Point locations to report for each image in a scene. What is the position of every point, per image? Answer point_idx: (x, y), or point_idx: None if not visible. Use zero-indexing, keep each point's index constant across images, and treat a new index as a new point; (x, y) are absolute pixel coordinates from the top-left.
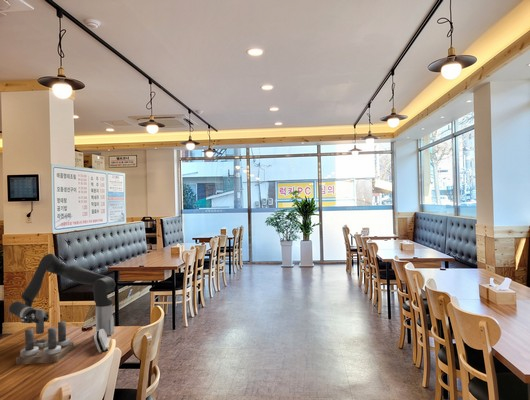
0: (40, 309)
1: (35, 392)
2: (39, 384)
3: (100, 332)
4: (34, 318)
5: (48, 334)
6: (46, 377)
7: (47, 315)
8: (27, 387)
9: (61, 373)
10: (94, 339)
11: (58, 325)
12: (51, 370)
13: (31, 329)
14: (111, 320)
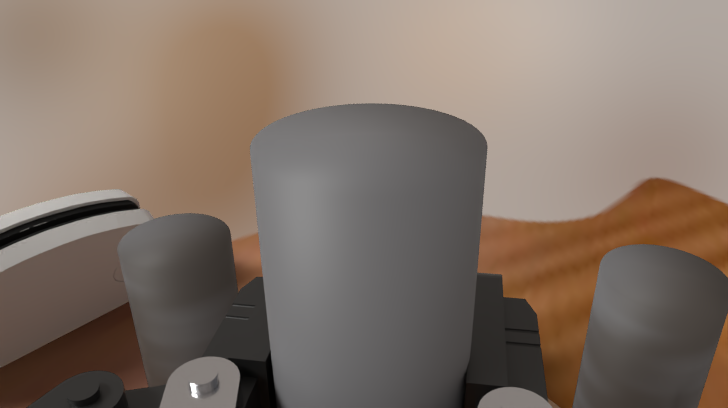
0: (336, 149)
1: (645, 181)
2: (616, 212)
3: (62, 200)
4: (507, 379)
5: None
6: (566, 238)
7: (114, 391)
8: (672, 222)
9: (490, 226)
10: (149, 220)
11: (232, 269)
12: (513, 279)
13: (631, 270)
14: None
